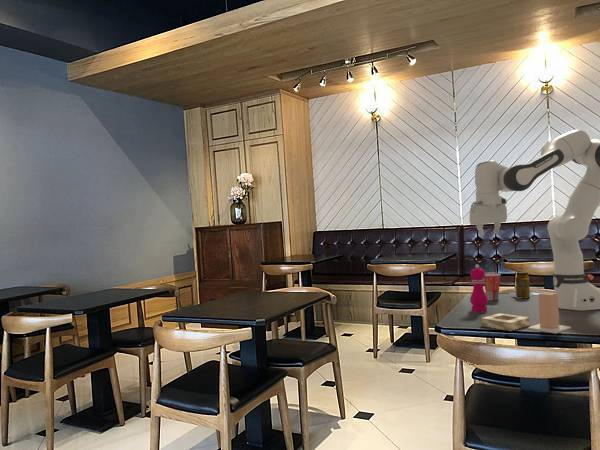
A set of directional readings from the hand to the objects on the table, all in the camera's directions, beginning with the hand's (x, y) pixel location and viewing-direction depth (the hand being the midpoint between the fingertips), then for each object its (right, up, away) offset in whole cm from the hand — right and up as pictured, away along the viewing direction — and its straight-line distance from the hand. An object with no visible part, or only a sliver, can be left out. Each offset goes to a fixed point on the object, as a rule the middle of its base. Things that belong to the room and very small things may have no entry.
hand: (489, 235), depth 200 cm
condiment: (+30, -31, +38) cm, 58 cm away
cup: (+15, -32, +37) cm, 51 cm away
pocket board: (0, -34, -16) cm, 37 cm away
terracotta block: (+12, -32, -24) cm, 42 cm away
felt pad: (+12, -33, -24) cm, 43 cm away
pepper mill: (+1, -33, +13) cm, 35 cm away
